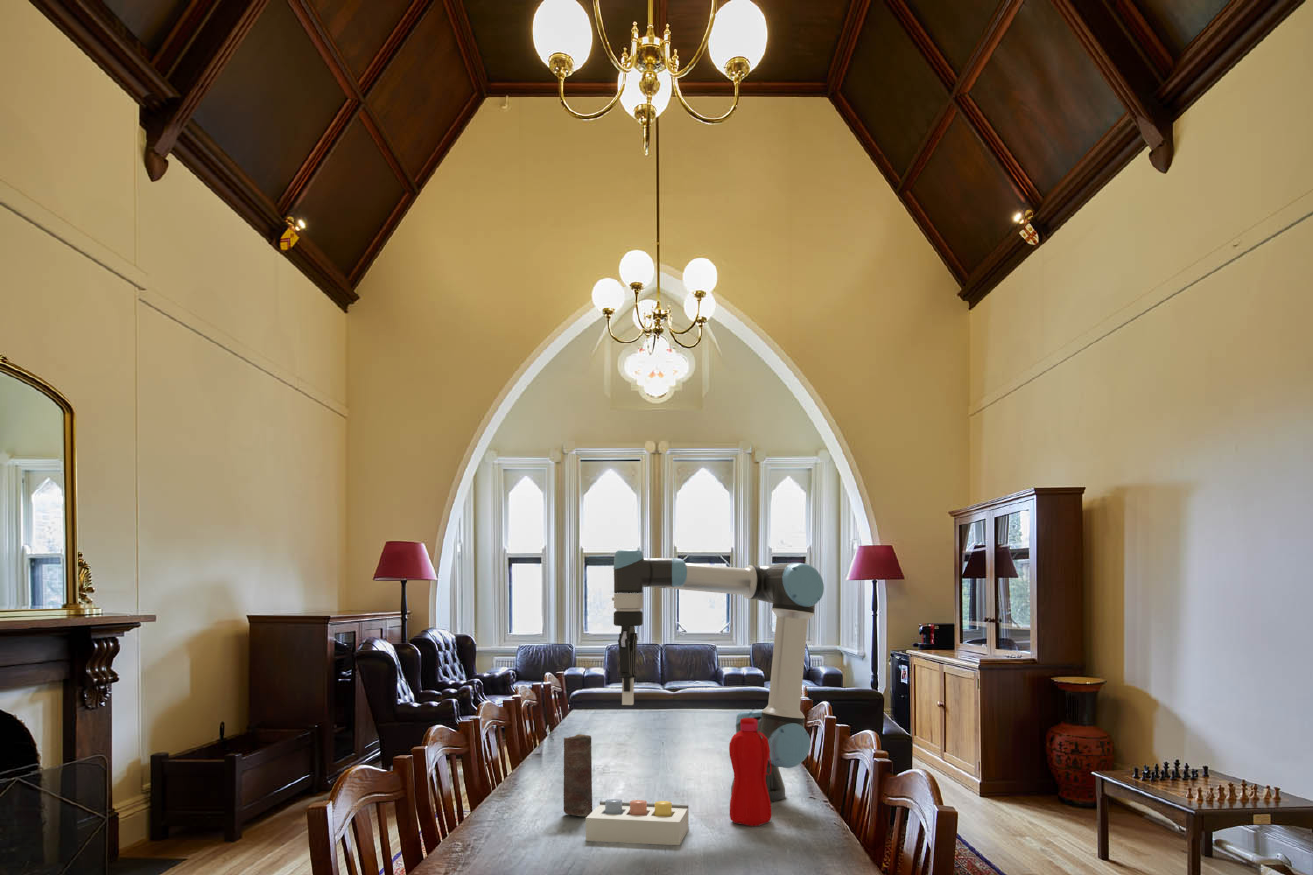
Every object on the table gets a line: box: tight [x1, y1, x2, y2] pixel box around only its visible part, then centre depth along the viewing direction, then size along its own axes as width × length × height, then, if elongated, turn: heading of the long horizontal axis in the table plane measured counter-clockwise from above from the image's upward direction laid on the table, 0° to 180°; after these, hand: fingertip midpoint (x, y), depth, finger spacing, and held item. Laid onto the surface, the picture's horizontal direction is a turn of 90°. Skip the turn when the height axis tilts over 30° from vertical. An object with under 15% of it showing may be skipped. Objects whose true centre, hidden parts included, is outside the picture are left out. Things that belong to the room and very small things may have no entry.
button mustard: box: [654, 800, 672, 817], centre depth 217 cm, size 4×4×4 cm
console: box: [585, 800, 690, 846], centre depth 217 cm, size 22×14×6 cm, turn 80°
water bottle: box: [728, 718, 773, 827], centre depth 230 cm, size 9×11×25 cm
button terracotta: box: [630, 799, 648, 816], centre depth 218 cm, size 4×4×4 cm
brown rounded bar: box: [563, 734, 593, 818], centre depth 236 cm, size 8×7×20 cm
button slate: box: [605, 798, 623, 815], centre depth 219 cm, size 4×4×4 cm
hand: (627, 704), depth 233 cm, fingers closed
